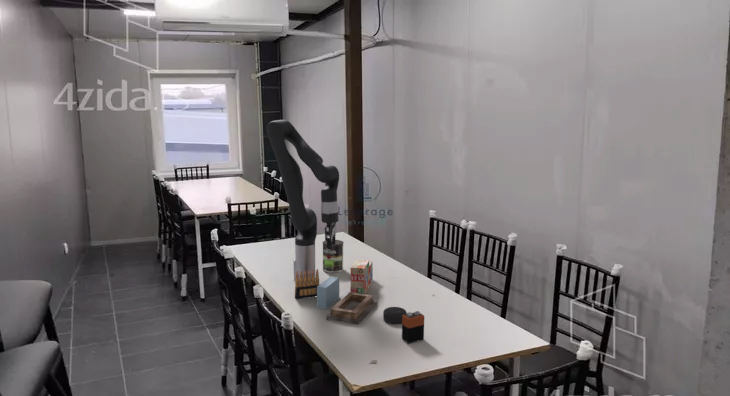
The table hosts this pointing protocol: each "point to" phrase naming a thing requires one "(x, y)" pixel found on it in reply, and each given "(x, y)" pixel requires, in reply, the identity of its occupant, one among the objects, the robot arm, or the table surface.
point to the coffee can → (333, 257)
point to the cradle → (352, 308)
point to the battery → (413, 327)
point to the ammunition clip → (306, 285)
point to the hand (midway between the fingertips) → (331, 246)
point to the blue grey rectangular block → (327, 292)
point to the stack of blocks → (361, 276)
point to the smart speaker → (394, 315)
